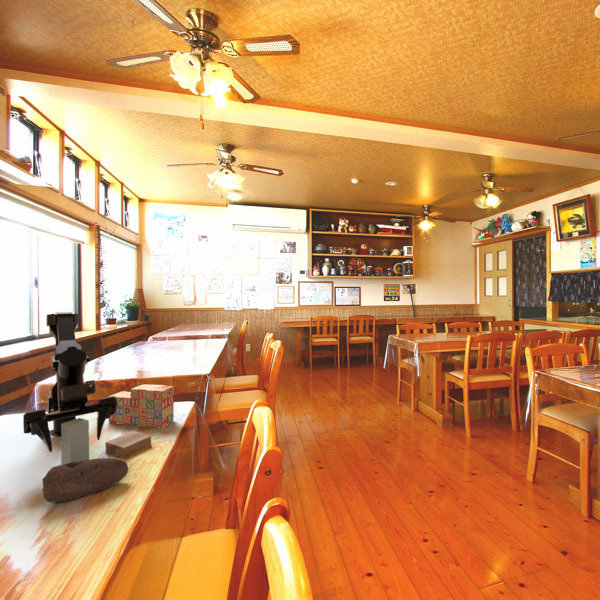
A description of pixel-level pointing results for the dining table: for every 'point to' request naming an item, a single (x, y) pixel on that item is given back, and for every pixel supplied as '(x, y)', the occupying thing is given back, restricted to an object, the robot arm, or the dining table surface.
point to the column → (74, 441)
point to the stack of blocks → (145, 406)
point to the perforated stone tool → (82, 478)
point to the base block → (128, 444)
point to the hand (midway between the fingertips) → (75, 445)
